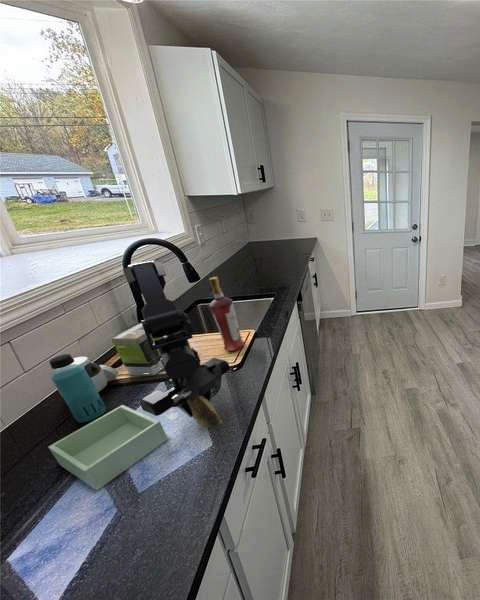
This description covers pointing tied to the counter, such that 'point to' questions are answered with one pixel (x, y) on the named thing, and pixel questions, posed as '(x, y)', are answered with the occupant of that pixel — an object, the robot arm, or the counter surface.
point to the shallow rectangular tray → (108, 445)
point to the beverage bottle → (77, 389)
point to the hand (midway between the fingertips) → (199, 410)
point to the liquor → (225, 318)
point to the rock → (203, 411)
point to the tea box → (138, 352)
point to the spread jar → (97, 373)
